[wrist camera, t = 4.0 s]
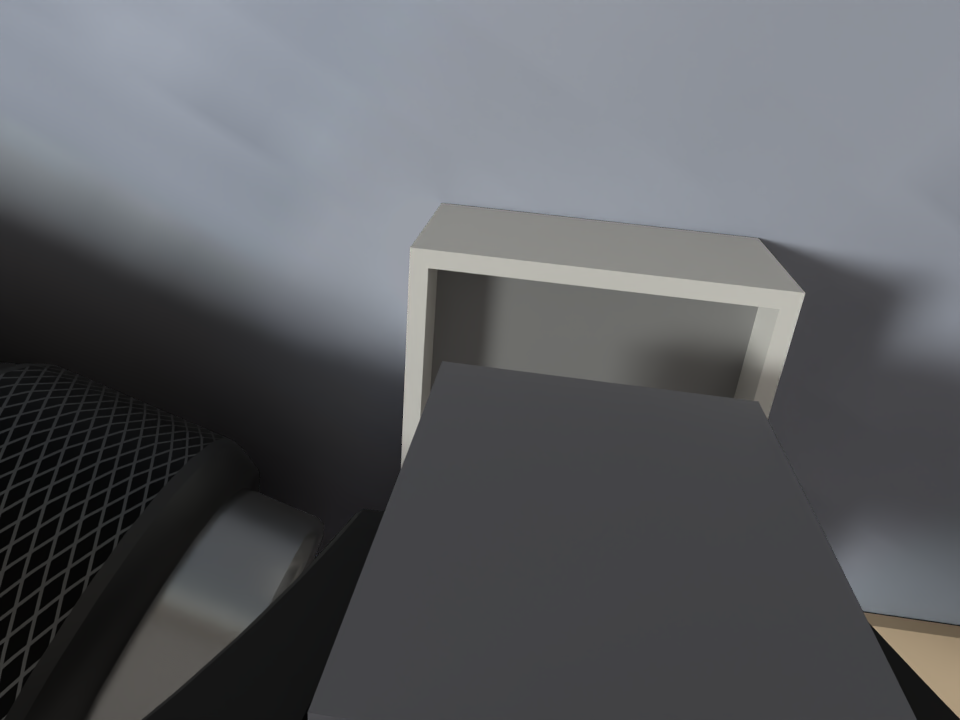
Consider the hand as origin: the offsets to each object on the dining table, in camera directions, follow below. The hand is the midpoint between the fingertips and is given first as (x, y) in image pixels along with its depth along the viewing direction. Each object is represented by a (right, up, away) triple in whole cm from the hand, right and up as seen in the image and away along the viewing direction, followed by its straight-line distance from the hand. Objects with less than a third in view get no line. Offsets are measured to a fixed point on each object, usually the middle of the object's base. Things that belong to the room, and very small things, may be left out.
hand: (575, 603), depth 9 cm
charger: (0, +1, +2) cm, 2 cm away
